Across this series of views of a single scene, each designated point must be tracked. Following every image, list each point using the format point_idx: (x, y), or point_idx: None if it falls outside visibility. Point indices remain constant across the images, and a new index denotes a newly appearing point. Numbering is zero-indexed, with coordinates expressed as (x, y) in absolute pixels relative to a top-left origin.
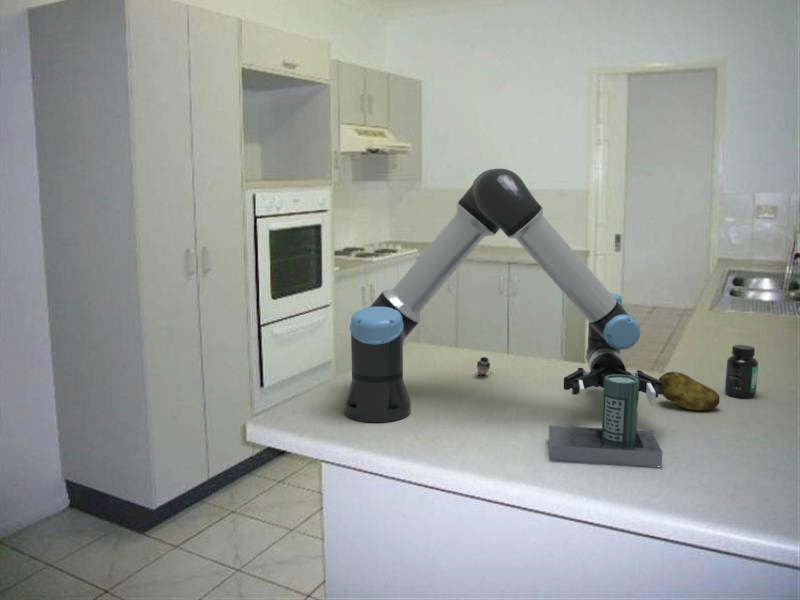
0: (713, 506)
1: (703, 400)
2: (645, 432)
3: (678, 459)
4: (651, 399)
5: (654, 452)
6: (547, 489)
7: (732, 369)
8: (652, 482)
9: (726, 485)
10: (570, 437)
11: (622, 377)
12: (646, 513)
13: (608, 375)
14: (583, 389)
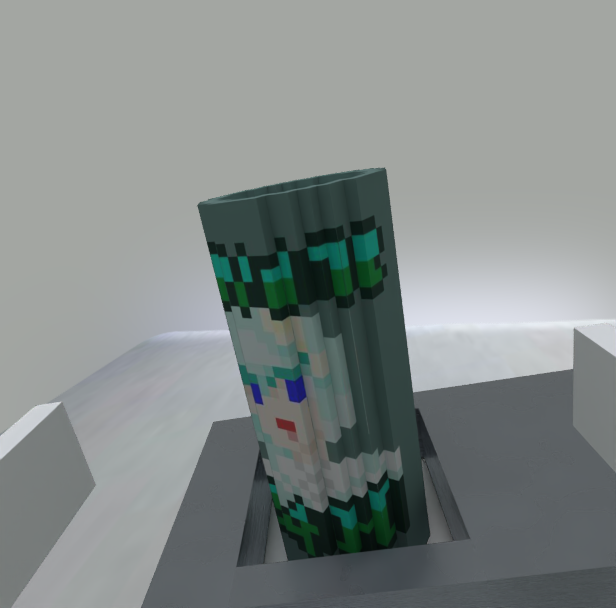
0: (200, 365)
1: None
2: (188, 583)
3: (130, 540)
4: (79, 449)
5: (238, 420)
6: (507, 328)
7: None
8: None
9: (113, 428)
10: (558, 434)
11: (273, 206)
12: None
13: (360, 176)
14: (579, 329)
